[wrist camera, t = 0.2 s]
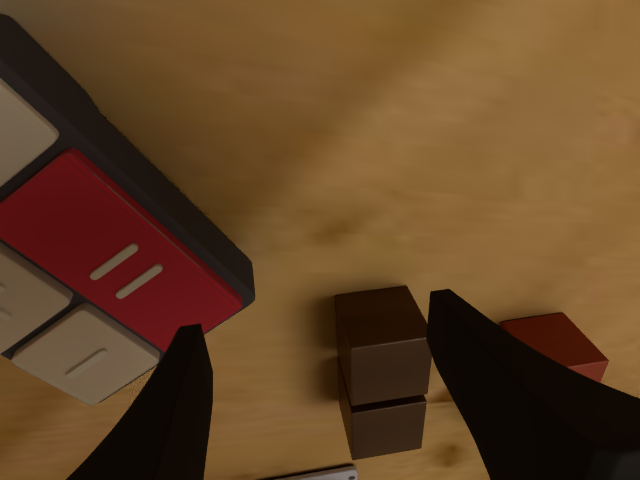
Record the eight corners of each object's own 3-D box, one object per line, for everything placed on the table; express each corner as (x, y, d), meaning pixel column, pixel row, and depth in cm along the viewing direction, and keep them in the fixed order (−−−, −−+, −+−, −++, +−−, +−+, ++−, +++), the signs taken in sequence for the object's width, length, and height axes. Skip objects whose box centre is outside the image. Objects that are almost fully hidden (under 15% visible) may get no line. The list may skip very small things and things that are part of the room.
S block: (550, 359, 32) (591, 409, 28) (491, 368, 32) (524, 421, 28) (564, 311, 30) (611, 360, 26) (501, 321, 29) (539, 371, 26)
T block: (405, 339, 29) (429, 393, 25) (336, 349, 28) (351, 406, 25) (409, 285, 27) (436, 335, 23) (334, 295, 26) (350, 348, 22)
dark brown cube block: (401, 392, 32) (423, 448, 28) (338, 402, 31) (352, 460, 27) (404, 346, 29) (428, 401, 26) (336, 356, 29) (351, 413, 25)
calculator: (91, 420, 23) (-275, 230, 15) (108, 357, 27) (-180, 176, 19) (261, 310, 21) (-55, 24, 13) (255, 258, 25) (3, 7, 17)
